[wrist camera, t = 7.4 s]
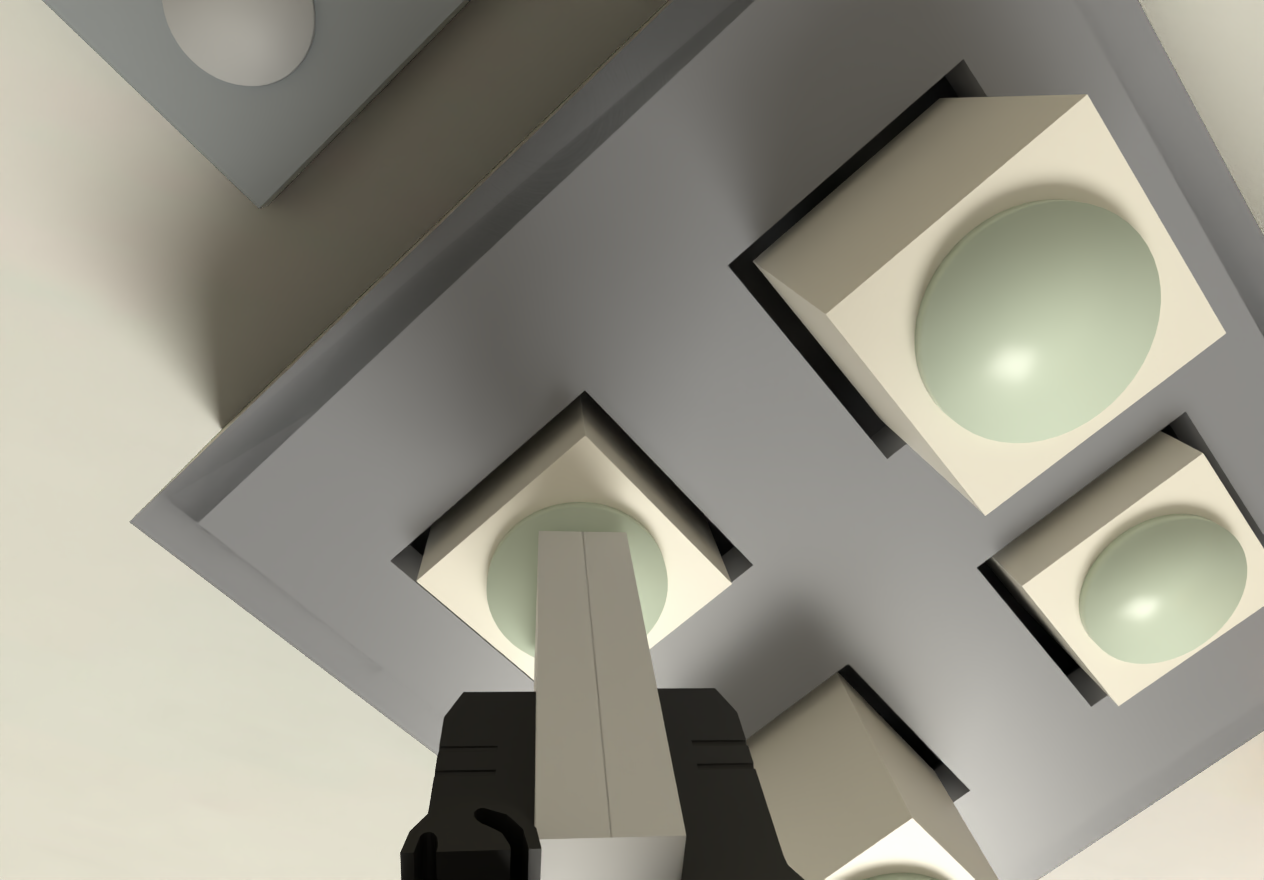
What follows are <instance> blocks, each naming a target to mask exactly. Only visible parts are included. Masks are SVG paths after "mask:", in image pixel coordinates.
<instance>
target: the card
mask: <svg viewBox="0 0 1264 880" xmlns="http://www.w3.org/2000/svg"><path fill="white" fill-rule="evenodd" d="M42 1H43V2H45V3H46V4H47V5H48V6H49V7H50V8H51V9H52V10H53V11H54V12H55V13H56V14H57V15H58V16H59V17H60V18H61V19H62V20H63V21H64V22H65V23H66V24H67V25H68V26H69V27H71V28H72V29H73V30H74V31H75V32H76V33H77V34H78V35H79V36H80V37H81V38H82V39H83V40H84V41H85V42H86V43H87V44H88V45H89V46H90V47H91V48H92V49H93V50H94V51H95V52H97V53H98V54H99V55H100V56H101V57H102V58H103V59H104V60H105V61H106V62H107V63H108V64H109V65H110V66H111V67H112V68H113V69H114V70H115V71H116V72H117V73H118V74H119V75H120V76H121V77H123V78H124V79H125V80H126V81H127V82H128V83H129V84H130V85H131V86H132V87H133V88H134V89H135V90H136V91H137V92H138V93H139V94H140V95H141V96H142V97H143V98H144V99H145V100H146V101H148V102H149V103H150V104H151V105H152V106H153V107H154V108H155V109H156V110H157V111H158V112H159V113H160V114H161V115H162V116H163V117H164V118H165V119H166V120H167V121H168V122H169V123H170V124H171V125H172V126H174V127H175V128H176V129H177V130H178V131H179V132H180V133H181V134H182V135H183V136H184V137H185V138H186V139H187V140H188V141H189V142H190V143H191V144H192V145H193V146H194V147H195V148H196V149H197V150H198V151H200V152H201V153H202V154H203V155H204V156H205V157H206V158H207V159H208V160H209V161H210V162H211V163H212V164H213V165H214V166H215V167H216V168H217V169H218V170H219V171H220V172H221V173H222V174H223V175H224V176H226V177H227V178H228V179H229V180H230V181H231V182H232V183H233V184H234V185H235V186H236V187H237V188H238V189H239V190H240V191H241V192H242V193H243V194H244V195H245V196H246V197H247V198H248V199H249V200H250V201H252V202H253V203H254V204H255V205H256V206H257V207H258V208H262V207H265V206H268V205H269V204H270V203H271V202H272V201H273V200H274V199H275V198H276V197H277V196H278V195H279V194H280V193H281V192H282V191H283V190H284V189H285V188H286V187H287V186H288V185H289V184H290V183H291V182H292V181H293V180H294V179H295V178H296V177H297V176H298V174H299V173H300V172H301V171H302V170H303V169H304V168H305V167H306V166H307V165H308V164H309V163H310V162H311V161H312V160H313V159H314V158H315V157H316V156H317V155H318V154H319V153H320V152H321V151H322V150H323V149H324V148H325V147H326V146H327V145H328V144H329V143H330V142H331V141H332V140H333V139H334V138H335V137H336V136H337V135H338V134H339V133H340V132H341V131H342V130H343V129H344V128H345V127H346V126H347V125H348V124H349V123H350V122H351V121H352V120H353V119H354V118H355V117H356V116H357V115H358V114H359V113H360V112H361V111H362V110H363V109H364V108H365V107H366V106H367V105H368V104H369V103H370V102H371V101H372V100H373V99H374V97H375V96H376V95H377V94H378V93H379V92H380V91H381V90H382V89H383V88H384V87H385V86H386V85H387V84H388V83H389V82H390V81H391V80H392V79H393V78H394V77H395V76H396V75H397V74H398V73H399V72H400V71H401V70H402V69H403V68H404V67H405V66H406V65H407V64H408V63H409V62H410V61H411V60H412V59H413V58H414V57H415V56H416V55H417V54H418V53H419V52H420V51H421V50H422V49H423V48H424V47H425V46H426V45H427V44H428V43H429V42H430V41H431V40H432V39H433V38H434V37H435V36H436V35H437V34H438V33H439V32H440V31H441V30H442V29H443V28H444V27H445V26H446V25H447V24H448V23H449V22H450V20H451V19H452V18H453V17H454V16H455V15H456V14H457V13H458V12H459V11H460V10H461V9H462V8H463V7H464V6H465V5H466V4H467V3H468V2H469V1H470V0H42Z"/></svg>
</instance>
